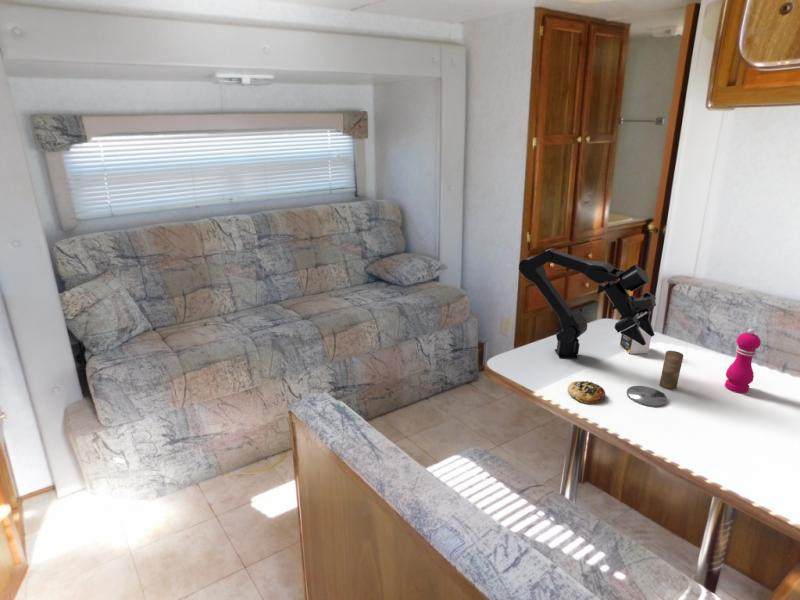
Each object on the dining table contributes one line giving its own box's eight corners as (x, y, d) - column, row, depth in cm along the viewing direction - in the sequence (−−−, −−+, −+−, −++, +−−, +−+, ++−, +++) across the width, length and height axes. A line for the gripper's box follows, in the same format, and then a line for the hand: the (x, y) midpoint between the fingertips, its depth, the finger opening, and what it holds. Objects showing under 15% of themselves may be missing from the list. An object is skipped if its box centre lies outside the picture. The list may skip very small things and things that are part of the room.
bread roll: (611, 394, 159) (612, 380, 157) (595, 412, 152) (596, 398, 150) (576, 383, 166) (576, 369, 164) (559, 400, 159) (559, 386, 157)
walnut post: (663, 389, 163) (670, 357, 159) (656, 382, 167) (663, 350, 164) (679, 389, 163) (686, 357, 159) (671, 382, 167) (678, 350, 164)
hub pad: (636, 406, 153) (636, 404, 153) (620, 387, 163) (620, 385, 163) (673, 406, 153) (674, 404, 153) (655, 388, 163) (656, 385, 163)
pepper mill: (748, 385, 166) (764, 326, 160) (751, 396, 160) (768, 335, 153) (721, 380, 169) (736, 322, 162) (724, 390, 163) (739, 330, 156)
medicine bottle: (619, 345, 193) (624, 315, 189) (637, 345, 194) (643, 314, 190) (629, 354, 187) (635, 322, 183) (648, 353, 188) (654, 322, 184)
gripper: (633, 292, 156) (664, 338, 154) (651, 279, 170) (680, 320, 167) (601, 310, 163) (631, 353, 161) (621, 295, 177) (648, 335, 175)
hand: (649, 340), depth 166 cm, fingers open, 9 cm apart
